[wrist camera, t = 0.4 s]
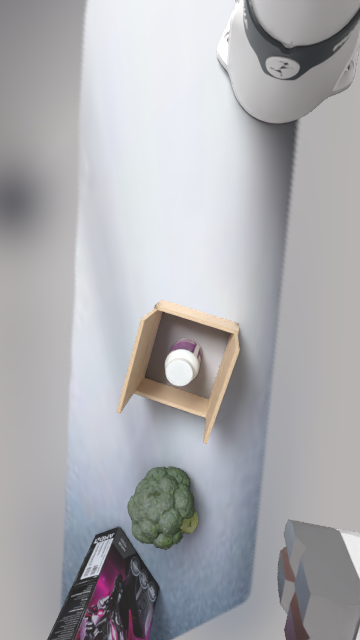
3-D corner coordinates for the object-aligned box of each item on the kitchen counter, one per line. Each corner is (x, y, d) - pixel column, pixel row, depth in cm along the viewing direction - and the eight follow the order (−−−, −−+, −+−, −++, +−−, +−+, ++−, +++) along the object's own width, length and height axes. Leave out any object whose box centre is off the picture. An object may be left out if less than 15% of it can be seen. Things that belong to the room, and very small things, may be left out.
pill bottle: (165, 351, 54) (152, 372, 45) (186, 331, 53) (177, 347, 43) (187, 373, 54) (179, 398, 45) (209, 353, 53) (205, 374, 43)
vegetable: (154, 542, 60) (101, 518, 52) (183, 476, 66) (138, 446, 59) (201, 576, 51) (144, 552, 44) (228, 497, 58) (183, 464, 50)
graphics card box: (162, 587, 65) (117, 815, 39) (135, 595, 67) (74, 820, 40) (120, 523, 63) (43, 716, 37) (93, 533, 65) (1, 725, 38)
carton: (162, 299, 52) (141, 314, 39) (238, 323, 51) (241, 346, 38) (140, 379, 56) (115, 415, 43) (210, 403, 55) (205, 447, 42)
